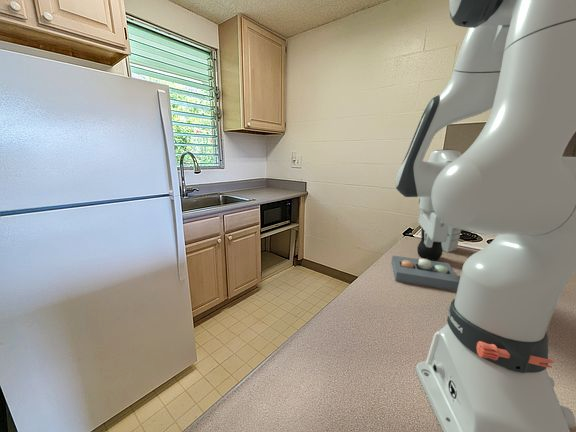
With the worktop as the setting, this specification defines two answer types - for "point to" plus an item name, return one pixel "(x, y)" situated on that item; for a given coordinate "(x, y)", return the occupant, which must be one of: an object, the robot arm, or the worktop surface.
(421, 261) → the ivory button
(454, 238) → the supplement box
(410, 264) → the terracotta button
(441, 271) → the sage button
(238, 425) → the worktop surface
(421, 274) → the panel
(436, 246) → the cola bottle
